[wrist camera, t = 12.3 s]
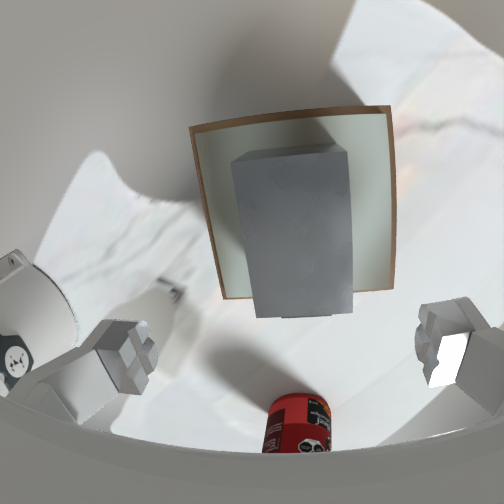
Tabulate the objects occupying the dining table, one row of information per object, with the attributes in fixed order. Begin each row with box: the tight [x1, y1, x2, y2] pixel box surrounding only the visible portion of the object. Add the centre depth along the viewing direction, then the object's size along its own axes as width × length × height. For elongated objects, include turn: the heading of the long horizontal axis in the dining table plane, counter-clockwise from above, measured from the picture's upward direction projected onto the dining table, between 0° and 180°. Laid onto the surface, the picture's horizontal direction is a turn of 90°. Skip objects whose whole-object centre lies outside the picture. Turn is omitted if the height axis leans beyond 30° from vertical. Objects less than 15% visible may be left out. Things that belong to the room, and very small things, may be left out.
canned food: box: [262, 394, 331, 453], centre depth 32 cm, size 8×8×11 cm
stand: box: [189, 105, 397, 300], centre depth 22 cm, size 12×12×8 cm
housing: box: [230, 143, 353, 318], centre depth 17 cm, size 10×5×4 cm, turn 8°
